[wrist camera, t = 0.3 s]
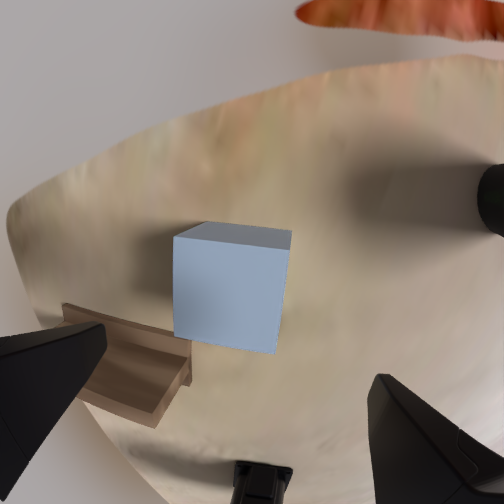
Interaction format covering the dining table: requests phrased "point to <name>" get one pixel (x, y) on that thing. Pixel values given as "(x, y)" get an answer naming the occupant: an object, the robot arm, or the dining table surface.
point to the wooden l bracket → (134, 367)
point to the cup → (492, 199)
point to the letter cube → (230, 284)
